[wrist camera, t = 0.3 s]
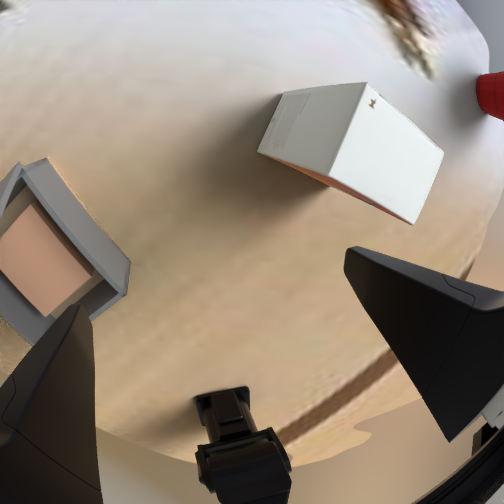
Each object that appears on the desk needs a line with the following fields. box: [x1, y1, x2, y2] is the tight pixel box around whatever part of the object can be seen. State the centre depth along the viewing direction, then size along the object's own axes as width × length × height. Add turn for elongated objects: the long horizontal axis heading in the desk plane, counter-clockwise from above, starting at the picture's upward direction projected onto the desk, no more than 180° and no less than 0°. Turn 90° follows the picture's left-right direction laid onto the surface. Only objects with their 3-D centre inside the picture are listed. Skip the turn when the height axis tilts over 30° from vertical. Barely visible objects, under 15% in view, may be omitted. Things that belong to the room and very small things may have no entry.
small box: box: [257, 82, 444, 226], centre depth 19 cm, size 8×6×10 cm
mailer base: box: [0, 157, 131, 346], centre depth 18 cm, size 11×10×5 cm
